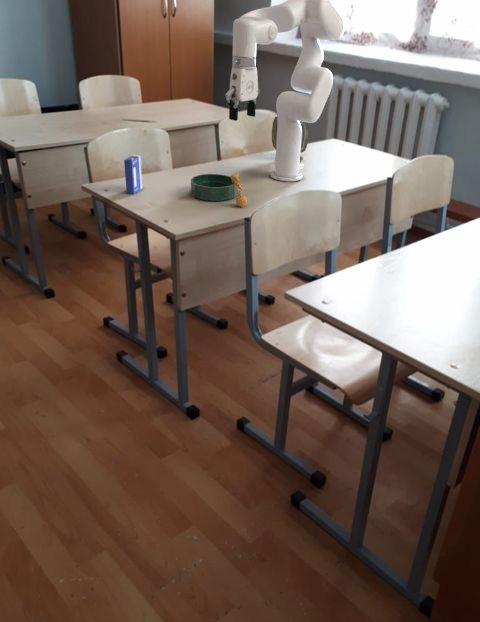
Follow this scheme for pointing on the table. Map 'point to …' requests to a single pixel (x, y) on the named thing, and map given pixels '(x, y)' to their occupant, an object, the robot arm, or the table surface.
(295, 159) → the robot arm
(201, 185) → the bowl
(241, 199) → the figurine
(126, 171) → the walkman
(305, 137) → the tabletop clock
